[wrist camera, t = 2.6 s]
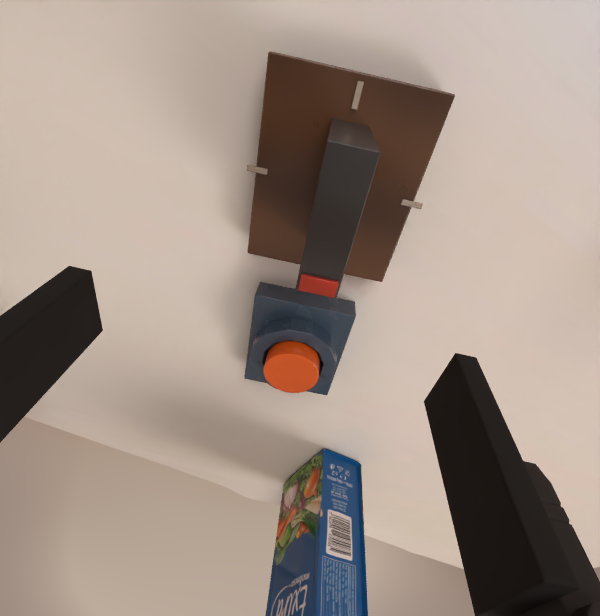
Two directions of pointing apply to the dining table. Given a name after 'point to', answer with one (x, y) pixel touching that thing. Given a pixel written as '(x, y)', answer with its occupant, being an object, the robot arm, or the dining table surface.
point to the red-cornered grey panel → (337, 206)
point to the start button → (292, 366)
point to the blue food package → (320, 542)
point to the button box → (299, 329)
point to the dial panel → (311, 146)
